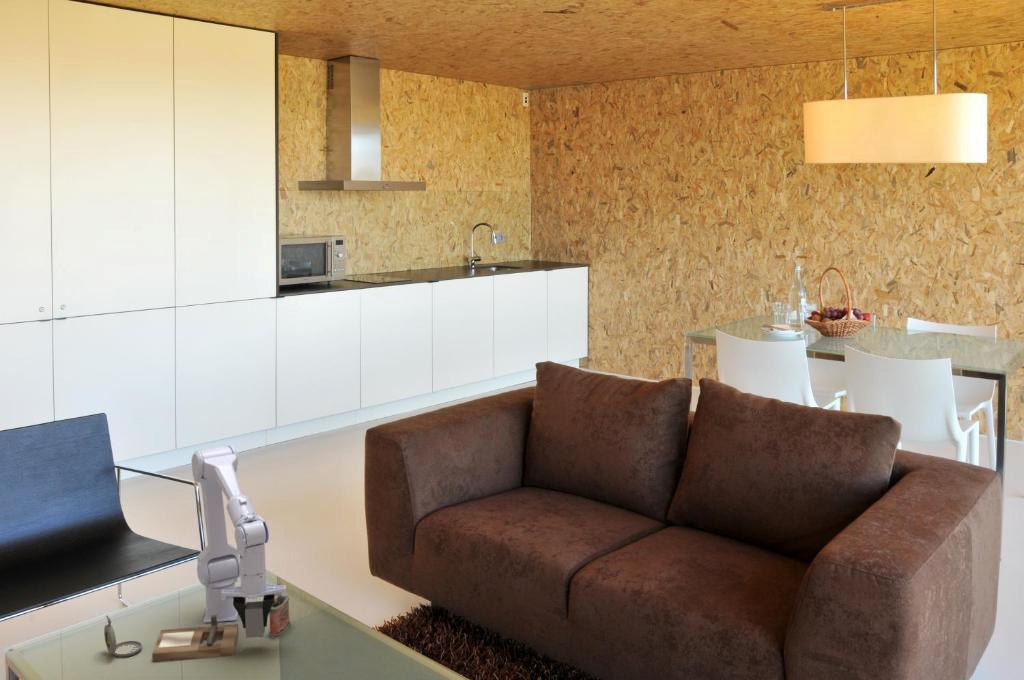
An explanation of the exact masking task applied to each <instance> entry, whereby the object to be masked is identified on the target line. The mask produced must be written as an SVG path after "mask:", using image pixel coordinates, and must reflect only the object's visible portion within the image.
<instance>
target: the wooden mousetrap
mask: <svg viewBox="0 0 1024 680" xmlns="http://www.w3.org/2000/svg"><path fill="white" fill-rule="evenodd" d="M158 635H159V636H158V637H157V640H156V643H155V646H154V648H153V651H152V653H151V655H152V662H153V661H158V662H167V660H170V661H179V660H180V661H181V660H193V659H194V660H195V659H205V658H206V659H207V658H215V657H217V658H218V657H228V656H229V657H230V656H234V655H235V651H236V645H237V640H238V635H239V624H237V623H236V624H235V623H234V624H225V625H224V624H223V625H218V622H217V615H211V622H210V626H198V627H197V626H196V627H184V628H172V629H170V628H169V629H161V630H160V633H159V634H158ZM219 639H220V640H221V642H213V641H214V640H219ZM203 641H207V642H206V643H203Z"/></svg>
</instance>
